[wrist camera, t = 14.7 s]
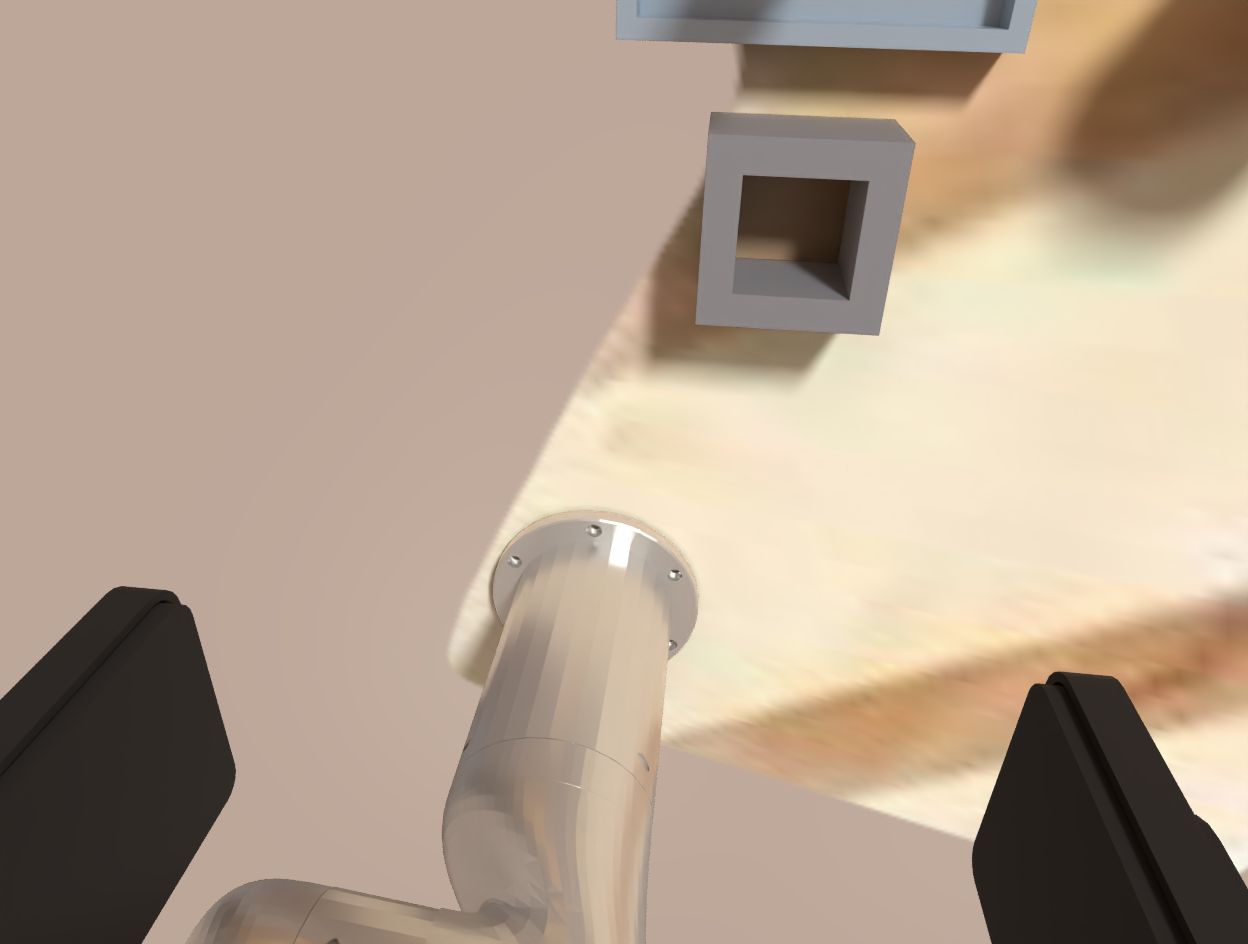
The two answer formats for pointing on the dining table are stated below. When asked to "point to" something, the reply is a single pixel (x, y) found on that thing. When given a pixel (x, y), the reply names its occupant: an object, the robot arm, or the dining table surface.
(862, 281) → the socket block
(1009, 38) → the tray
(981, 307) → the dining table surface
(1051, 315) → the dining table surface
